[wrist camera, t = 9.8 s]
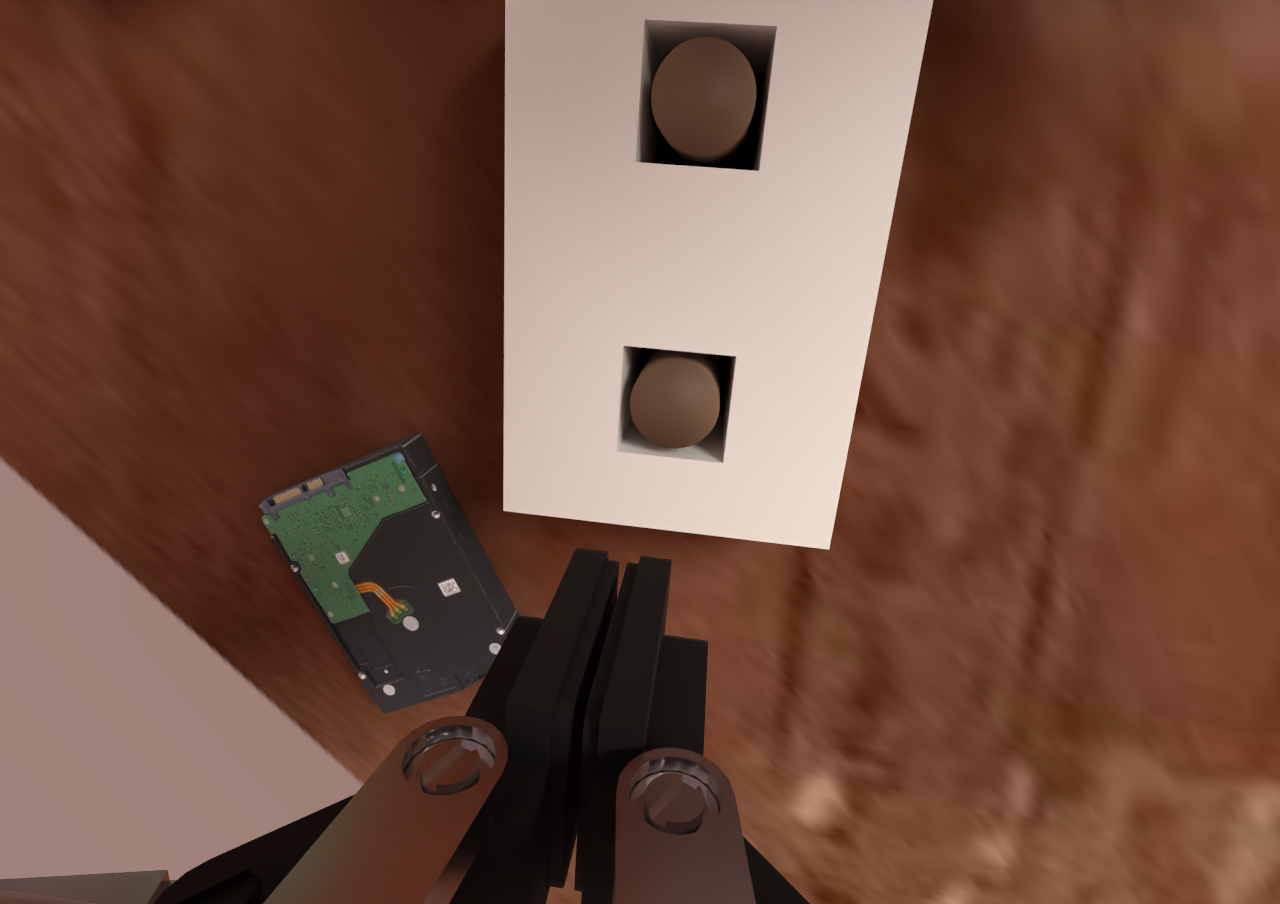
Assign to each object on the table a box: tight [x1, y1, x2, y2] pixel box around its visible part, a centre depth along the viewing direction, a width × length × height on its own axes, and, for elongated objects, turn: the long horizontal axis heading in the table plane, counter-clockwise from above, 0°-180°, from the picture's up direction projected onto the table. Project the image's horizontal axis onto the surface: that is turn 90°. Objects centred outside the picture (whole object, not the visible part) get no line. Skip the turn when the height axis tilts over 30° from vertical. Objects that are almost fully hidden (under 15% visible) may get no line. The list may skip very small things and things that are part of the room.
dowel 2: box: [630, 349, 720, 448], centre depth 29 cm, size 4×4×6 cm
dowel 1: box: [651, 37, 756, 168], centre depth 26 cm, size 4×4×6 cm
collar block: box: [503, 0, 933, 549], centre depth 28 cm, size 14×22×7 cm, turn 176°
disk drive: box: [259, 433, 520, 713], centre depth 38 cm, size 10×3×15 cm
